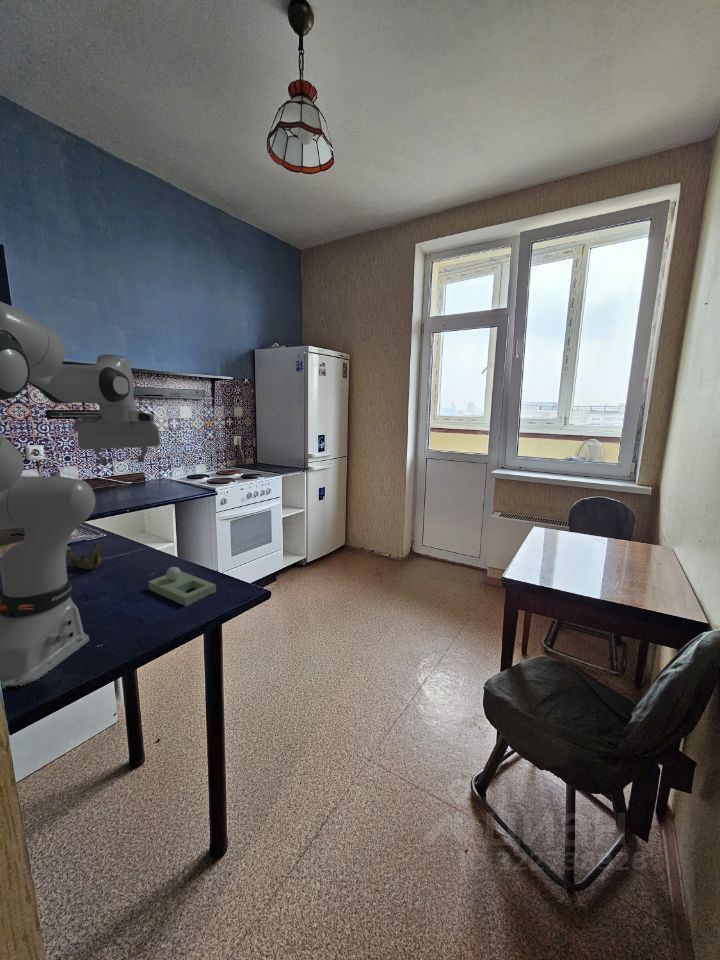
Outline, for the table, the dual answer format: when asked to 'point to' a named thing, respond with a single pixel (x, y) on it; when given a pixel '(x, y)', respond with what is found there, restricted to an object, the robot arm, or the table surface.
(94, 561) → the jawbone
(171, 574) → the ball
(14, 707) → the table surface
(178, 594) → the putting board
